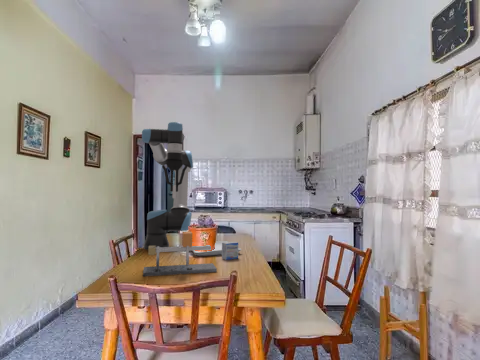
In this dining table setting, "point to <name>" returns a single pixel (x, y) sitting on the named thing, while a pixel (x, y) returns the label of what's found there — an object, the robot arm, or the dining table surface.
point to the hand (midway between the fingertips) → (174, 198)
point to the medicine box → (230, 250)
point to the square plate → (214, 252)
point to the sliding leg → (187, 244)
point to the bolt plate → (179, 269)
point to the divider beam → (156, 250)
